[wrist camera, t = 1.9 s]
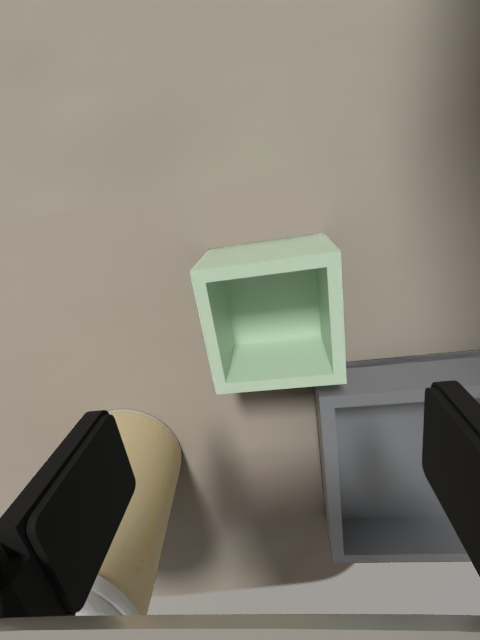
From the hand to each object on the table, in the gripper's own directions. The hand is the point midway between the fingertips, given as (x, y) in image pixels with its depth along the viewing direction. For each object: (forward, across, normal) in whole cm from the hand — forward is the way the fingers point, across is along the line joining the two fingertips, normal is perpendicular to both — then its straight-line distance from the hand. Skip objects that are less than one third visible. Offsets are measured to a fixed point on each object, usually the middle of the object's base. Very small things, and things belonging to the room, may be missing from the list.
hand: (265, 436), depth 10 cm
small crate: (+11, 0, -1) cm, 11 cm away
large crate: (+12, -9, +11) cm, 19 cm away
